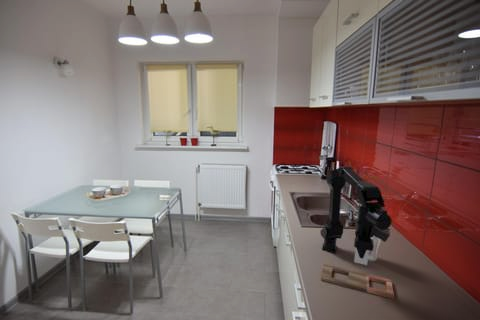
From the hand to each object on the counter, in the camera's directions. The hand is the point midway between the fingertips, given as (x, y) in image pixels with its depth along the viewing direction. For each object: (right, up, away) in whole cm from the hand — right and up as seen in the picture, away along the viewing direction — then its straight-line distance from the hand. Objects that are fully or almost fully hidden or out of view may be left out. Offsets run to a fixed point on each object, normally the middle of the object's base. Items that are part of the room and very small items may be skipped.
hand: (361, 254), depth 104 cm
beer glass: (+13, -9, +20) cm, 25 cm away
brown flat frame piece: (-1, -12, +3) cm, 12 cm away
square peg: (0, -2, 0) cm, 2 cm away
